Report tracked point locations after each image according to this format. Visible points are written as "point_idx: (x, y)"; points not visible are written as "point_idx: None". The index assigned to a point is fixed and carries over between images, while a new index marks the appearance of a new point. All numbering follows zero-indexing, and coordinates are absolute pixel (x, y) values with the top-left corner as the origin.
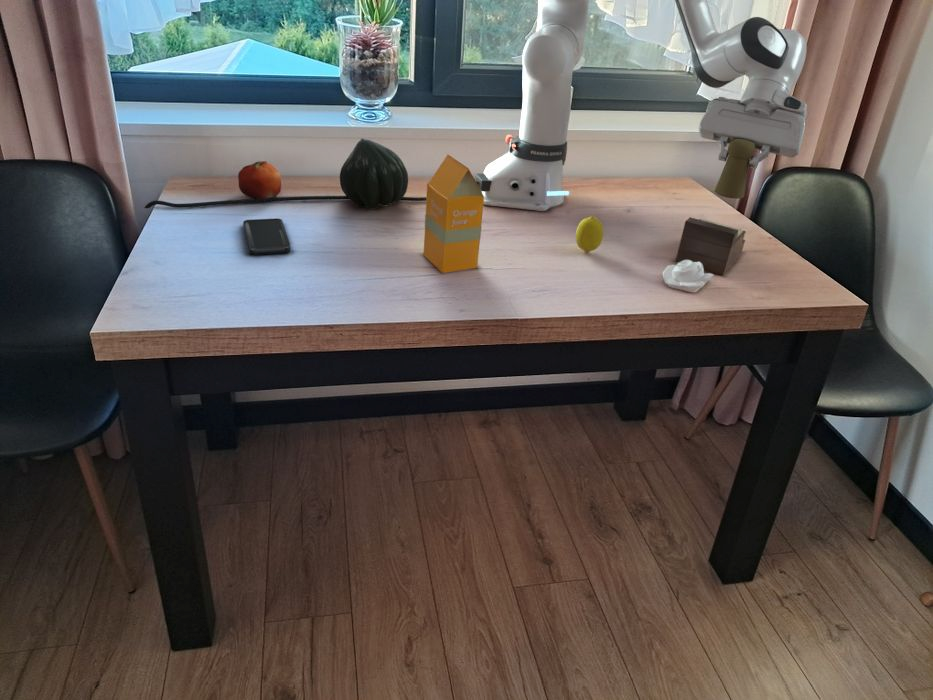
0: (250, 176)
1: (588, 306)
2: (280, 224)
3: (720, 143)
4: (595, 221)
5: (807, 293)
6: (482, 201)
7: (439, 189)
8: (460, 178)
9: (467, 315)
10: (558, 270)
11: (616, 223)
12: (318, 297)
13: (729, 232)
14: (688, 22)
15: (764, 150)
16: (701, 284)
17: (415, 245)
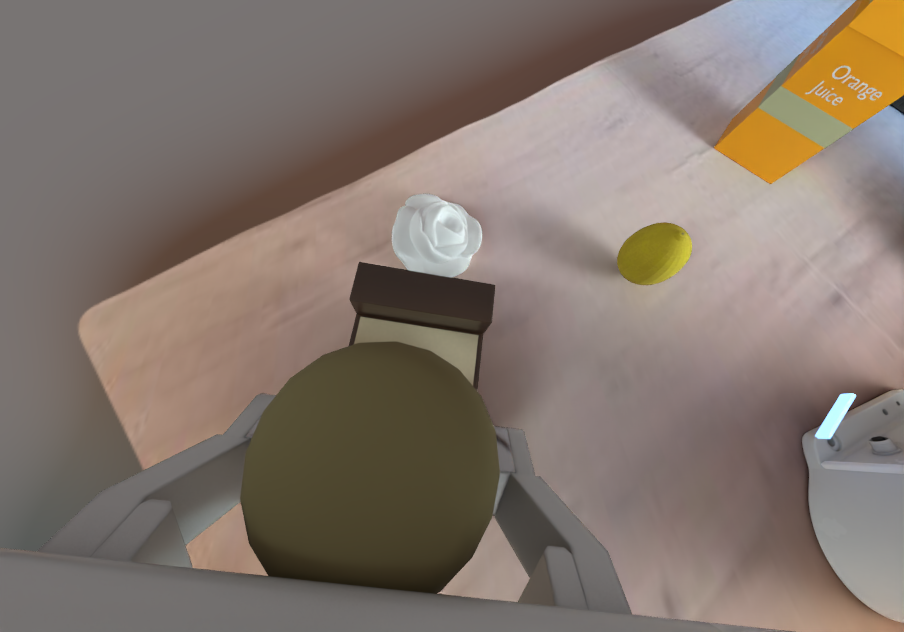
0: None
1: (544, 111)
2: None
3: (574, 517)
4: (666, 229)
5: (191, 313)
6: (837, 35)
7: None
8: None
9: (645, 49)
10: (627, 188)
11: (651, 474)
12: (772, 34)
13: (373, 267)
14: None
15: (144, 492)
16: (409, 198)
17: (816, 173)
